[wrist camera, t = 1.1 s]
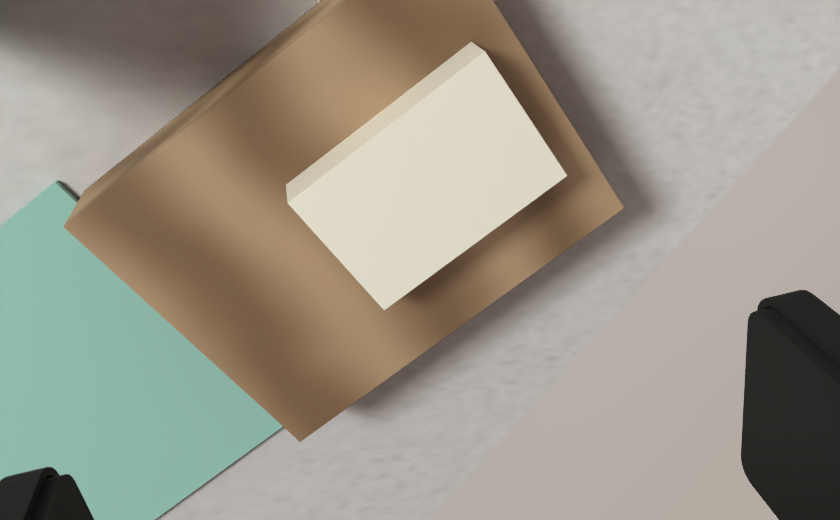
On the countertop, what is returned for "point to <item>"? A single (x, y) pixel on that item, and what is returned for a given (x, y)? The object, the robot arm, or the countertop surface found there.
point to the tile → (426, 177)
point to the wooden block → (290, 236)
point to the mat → (106, 378)
